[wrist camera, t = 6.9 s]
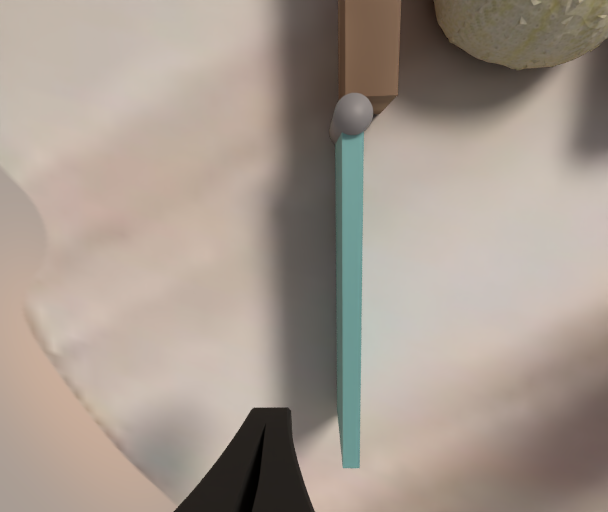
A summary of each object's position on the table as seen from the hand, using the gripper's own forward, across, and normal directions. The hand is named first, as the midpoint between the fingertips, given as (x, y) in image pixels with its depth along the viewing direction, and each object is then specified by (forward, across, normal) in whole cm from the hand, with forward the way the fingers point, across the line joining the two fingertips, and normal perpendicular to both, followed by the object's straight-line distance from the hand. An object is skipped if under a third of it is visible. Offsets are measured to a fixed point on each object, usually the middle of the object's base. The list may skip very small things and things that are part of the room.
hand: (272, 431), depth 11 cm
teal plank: (+7, -3, -3) cm, 8 cm away
